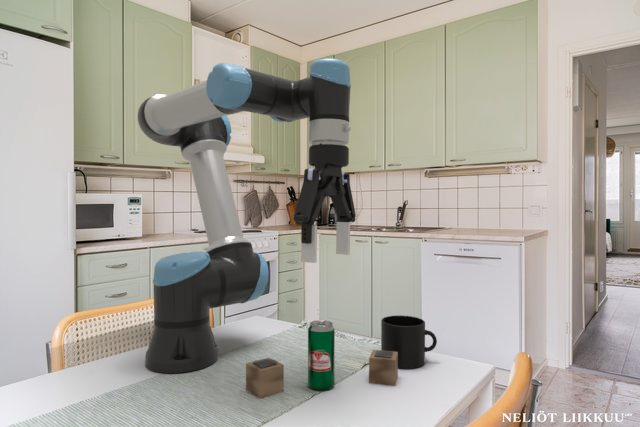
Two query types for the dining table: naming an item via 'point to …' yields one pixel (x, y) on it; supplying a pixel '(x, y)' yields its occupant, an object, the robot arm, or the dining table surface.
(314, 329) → the soda can
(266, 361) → the walnut block
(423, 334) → the mug
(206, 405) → the dining table surface
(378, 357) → the walnut block
